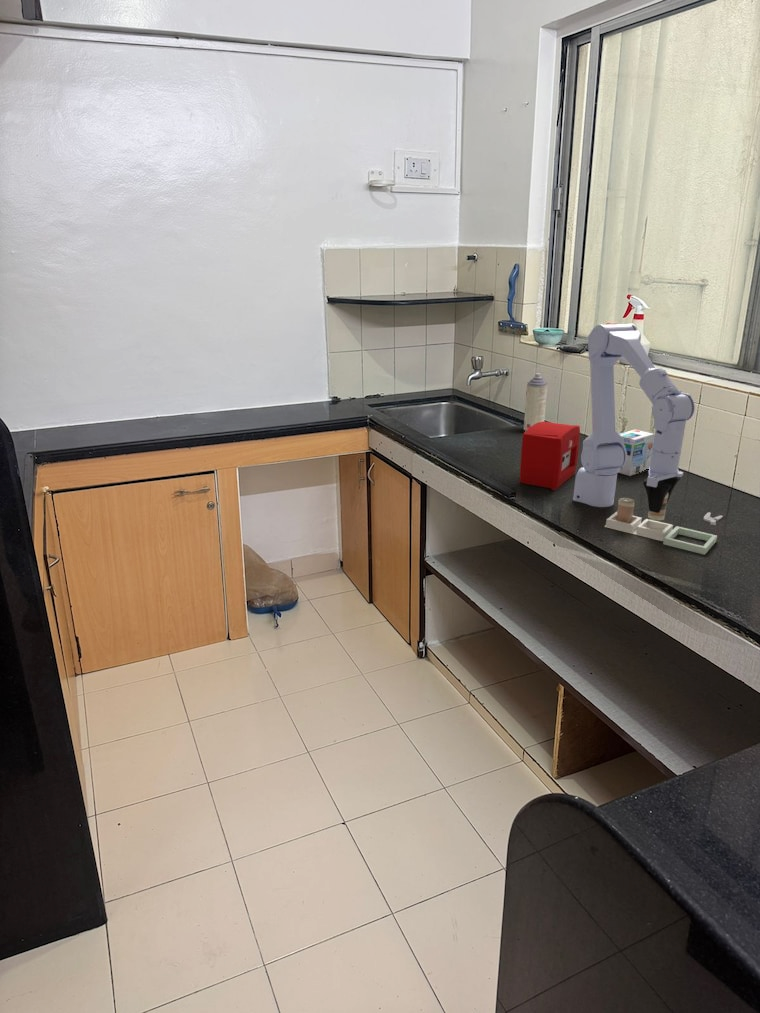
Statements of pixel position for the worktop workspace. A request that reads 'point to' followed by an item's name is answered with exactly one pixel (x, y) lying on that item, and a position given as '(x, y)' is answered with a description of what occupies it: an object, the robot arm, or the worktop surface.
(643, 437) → the light bulb box
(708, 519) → the pliers
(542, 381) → the aerosol can
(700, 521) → the worktop surface
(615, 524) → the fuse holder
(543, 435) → the fire alarm
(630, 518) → the fuse
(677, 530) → the tray
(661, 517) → the cylinder
